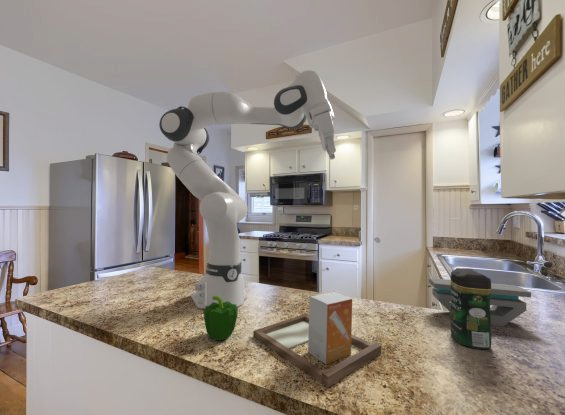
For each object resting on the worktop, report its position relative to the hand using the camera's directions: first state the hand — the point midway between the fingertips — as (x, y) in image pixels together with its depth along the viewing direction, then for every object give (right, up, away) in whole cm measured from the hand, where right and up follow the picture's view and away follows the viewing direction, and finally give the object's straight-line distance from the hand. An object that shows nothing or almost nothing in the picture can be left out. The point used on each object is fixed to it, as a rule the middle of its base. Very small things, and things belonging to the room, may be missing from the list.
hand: (333, 155), depth 87 cm
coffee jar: (+32, -53, -19) cm, 64 cm away
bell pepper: (-33, -51, -19) cm, 64 cm away
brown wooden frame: (-9, -51, -23) cm, 57 cm away
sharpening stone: (+45, -53, -4) cm, 70 cm away
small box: (-6, -51, -27) cm, 58 cm away
